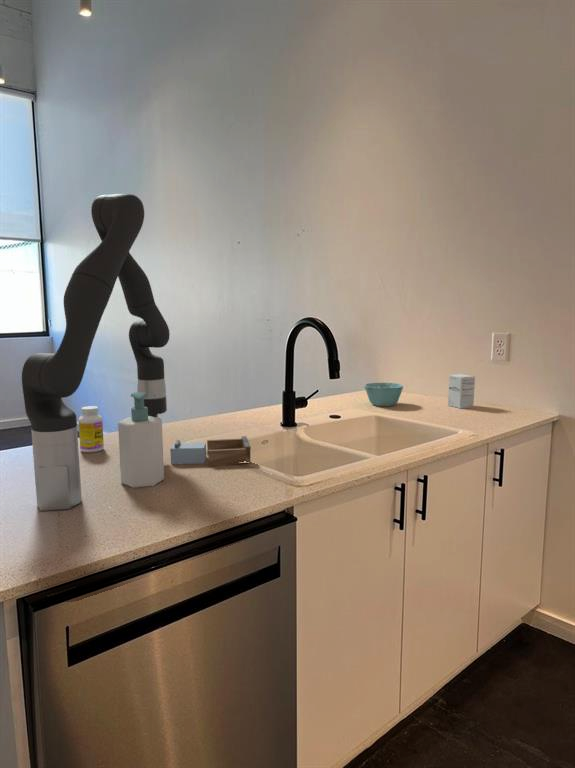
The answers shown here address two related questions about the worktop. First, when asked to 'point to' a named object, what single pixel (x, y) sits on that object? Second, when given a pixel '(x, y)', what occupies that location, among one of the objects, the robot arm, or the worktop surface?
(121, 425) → the soap bottle
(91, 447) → the supplement bottle
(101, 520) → the worktop surface
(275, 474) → the worktop surface
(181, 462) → the blue slab with ledge
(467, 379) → the supplement box
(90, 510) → the worktop surface
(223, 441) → the bay
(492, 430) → the worktop surface
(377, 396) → the bowl
